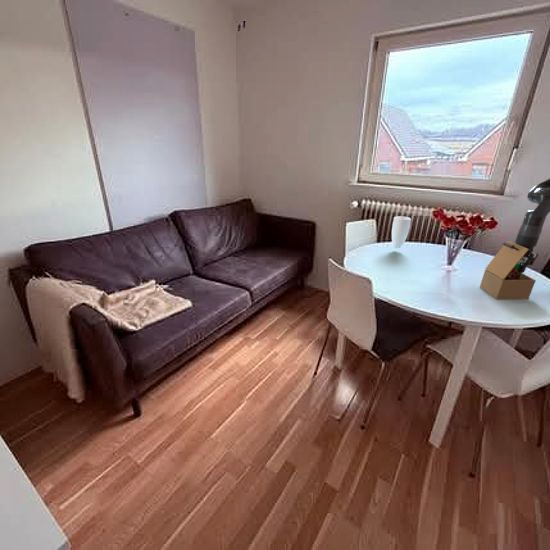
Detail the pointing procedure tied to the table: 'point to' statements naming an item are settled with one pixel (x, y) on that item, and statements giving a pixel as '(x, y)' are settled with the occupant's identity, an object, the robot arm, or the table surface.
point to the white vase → (400, 230)
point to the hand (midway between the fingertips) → (515, 269)
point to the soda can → (514, 273)
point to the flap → (506, 259)
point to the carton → (507, 286)
